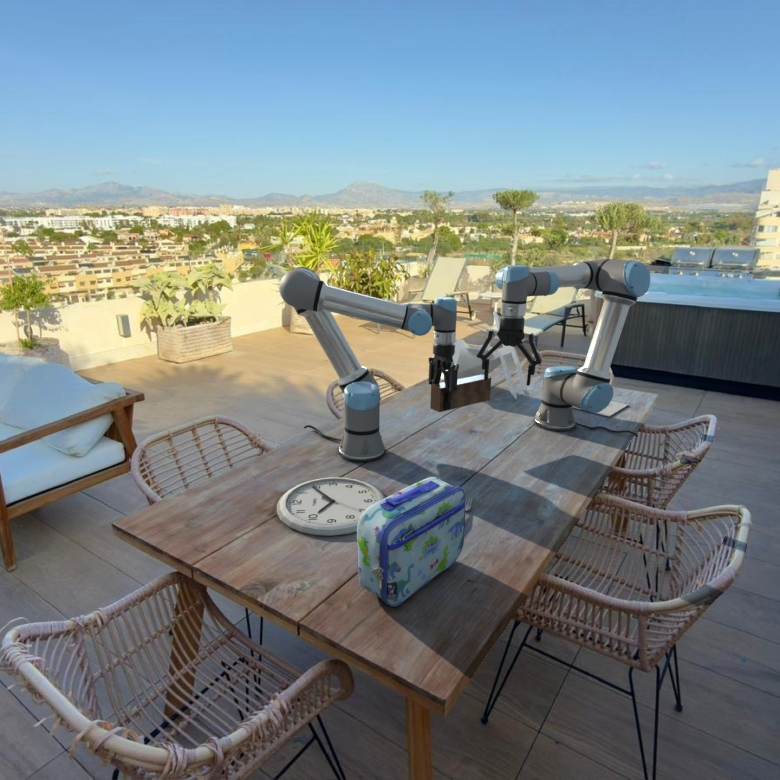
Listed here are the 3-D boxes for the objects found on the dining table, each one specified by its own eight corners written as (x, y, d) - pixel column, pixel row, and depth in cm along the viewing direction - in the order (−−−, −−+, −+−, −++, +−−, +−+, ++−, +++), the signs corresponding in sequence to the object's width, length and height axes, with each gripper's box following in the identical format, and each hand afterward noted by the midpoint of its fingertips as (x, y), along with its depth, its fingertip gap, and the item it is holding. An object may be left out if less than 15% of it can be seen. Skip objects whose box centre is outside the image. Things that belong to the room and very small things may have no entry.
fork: (449, 531, 131) (450, 524, 131) (463, 501, 146) (463, 495, 145) (459, 533, 130) (460, 526, 130) (472, 503, 145) (473, 496, 144)
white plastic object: (461, 429, 252) (437, 405, 227) (444, 352, 274) (420, 323, 250) (535, 404, 240) (518, 377, 215) (510, 326, 262) (492, 293, 237)
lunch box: (386, 620, 101) (388, 525, 95) (350, 593, 108) (349, 503, 102) (468, 563, 119) (474, 480, 112) (432, 543, 126) (436, 464, 120)
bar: (480, 396, 201) (481, 374, 198) (489, 400, 197) (491, 377, 194) (430, 408, 187) (431, 384, 184) (439, 412, 183) (440, 388, 180)
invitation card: (608, 416, 214) (573, 407, 224) (608, 416, 214) (573, 408, 224) (628, 404, 229) (594, 396, 238) (628, 405, 229) (594, 397, 238)
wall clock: (392, 527, 129) (268, 531, 127) (391, 533, 130) (269, 537, 127) (383, 473, 158) (282, 475, 155) (383, 478, 158) (282, 480, 156)
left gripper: (419, 339, 185) (417, 402, 191) (453, 349, 170) (450, 416, 177) (435, 337, 189) (433, 398, 196) (470, 346, 174) (466, 412, 181)
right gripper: (470, 315, 164) (466, 380, 170) (553, 321, 155) (545, 389, 161) (475, 311, 170) (471, 374, 177) (555, 317, 161) (547, 383, 168)
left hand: (441, 406), depth 186 cm, fingers closed on bar, 5 cm apart
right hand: (506, 382), depth 169 cm, fingers open, 13 cm apart
